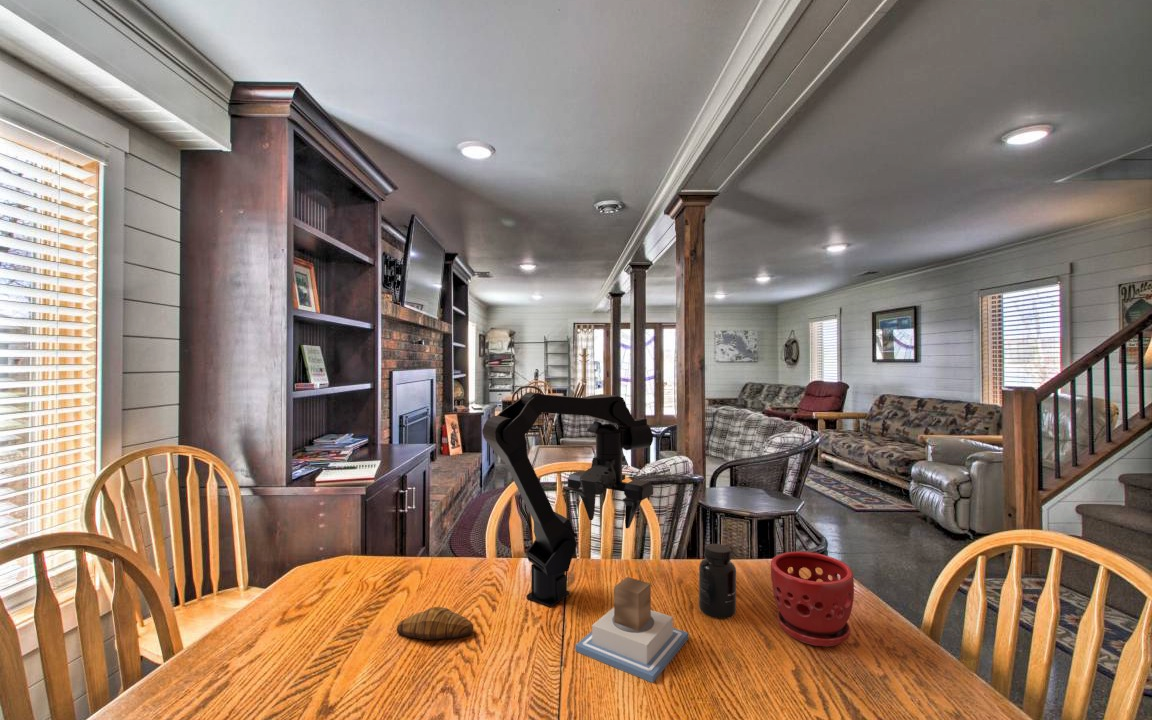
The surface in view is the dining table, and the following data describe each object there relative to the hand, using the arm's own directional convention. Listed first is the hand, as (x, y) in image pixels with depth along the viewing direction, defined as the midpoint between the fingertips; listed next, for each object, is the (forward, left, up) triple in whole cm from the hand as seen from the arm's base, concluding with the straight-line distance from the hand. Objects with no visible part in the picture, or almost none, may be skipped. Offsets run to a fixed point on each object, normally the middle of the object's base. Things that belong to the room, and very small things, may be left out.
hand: (609, 523), depth 108 cm
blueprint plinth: (+16, -19, -12) cm, 28 cm away
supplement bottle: (+24, 0, -12) cm, 27 cm away
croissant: (-14, -36, -13) cm, 40 cm away
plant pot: (+40, +2, -12) cm, 42 cm away
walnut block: (+16, -19, -8) cm, 26 cm away
